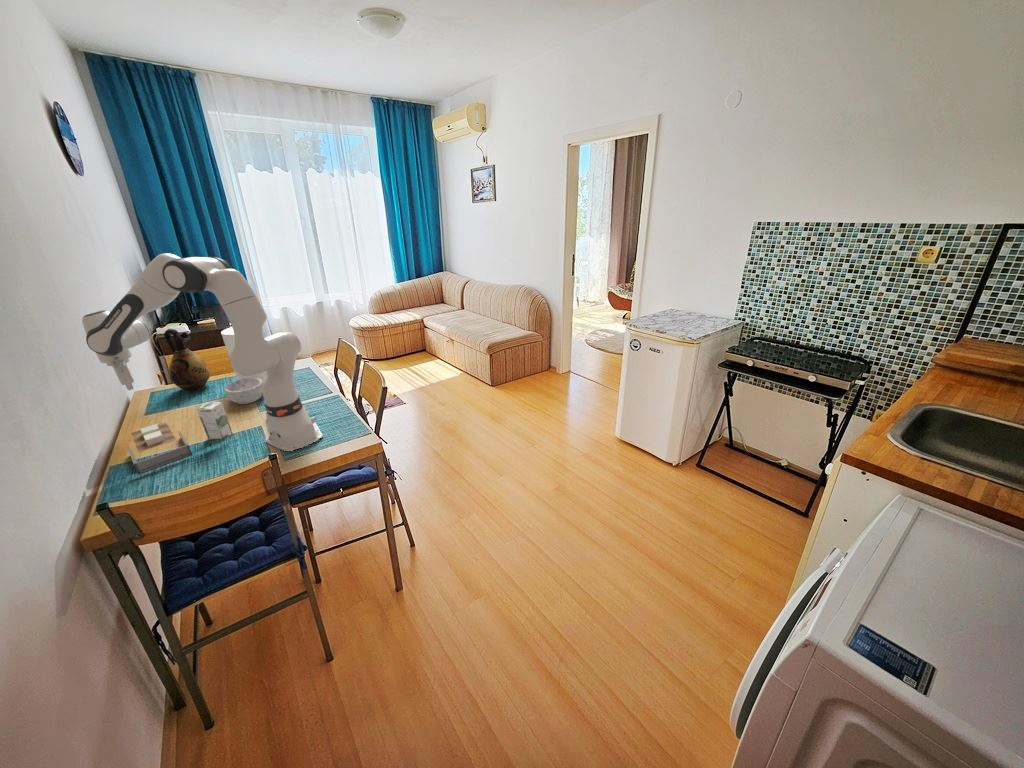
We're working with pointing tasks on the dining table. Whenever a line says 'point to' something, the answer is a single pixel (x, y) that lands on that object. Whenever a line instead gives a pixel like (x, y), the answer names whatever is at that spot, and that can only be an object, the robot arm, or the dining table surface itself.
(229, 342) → the cylinder
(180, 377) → the ceramic jug
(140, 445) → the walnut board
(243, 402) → the white purple floral bowl
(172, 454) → the grey bin
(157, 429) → the sage tile
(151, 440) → the cream tile
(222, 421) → the syrup box
